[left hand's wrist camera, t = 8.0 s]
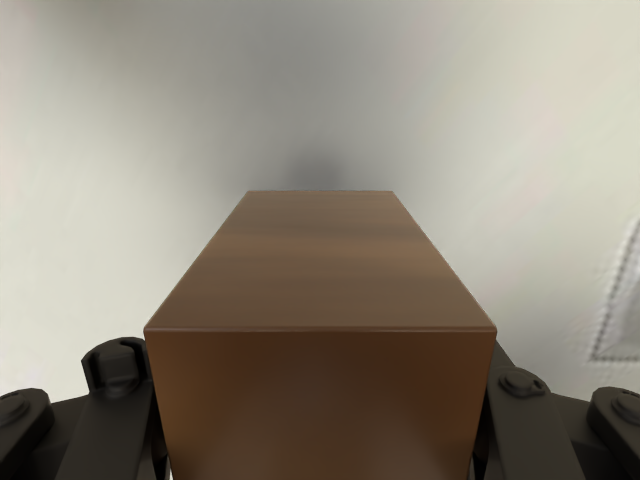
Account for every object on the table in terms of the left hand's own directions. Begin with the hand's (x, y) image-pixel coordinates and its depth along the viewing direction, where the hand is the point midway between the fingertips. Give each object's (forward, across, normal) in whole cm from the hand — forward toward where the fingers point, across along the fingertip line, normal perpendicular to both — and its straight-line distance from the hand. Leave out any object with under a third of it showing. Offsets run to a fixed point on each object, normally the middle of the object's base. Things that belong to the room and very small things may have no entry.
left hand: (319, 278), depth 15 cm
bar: (+1, 0, -9) cm, 9 cm away
